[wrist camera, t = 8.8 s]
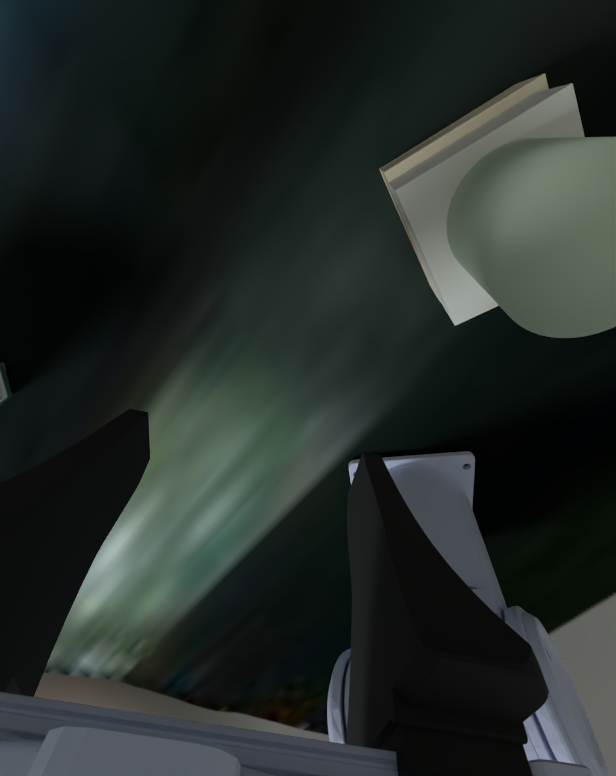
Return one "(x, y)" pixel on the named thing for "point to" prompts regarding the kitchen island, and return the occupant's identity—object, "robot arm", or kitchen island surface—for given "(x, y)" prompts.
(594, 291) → the sage cylinder
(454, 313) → the tower top block
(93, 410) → the kitchen island surface
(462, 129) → the tower base block
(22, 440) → the kitchen island surface
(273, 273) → the kitchen island surface
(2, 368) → the coffee box
